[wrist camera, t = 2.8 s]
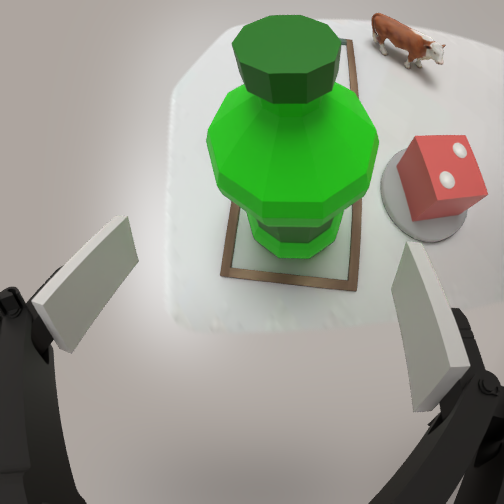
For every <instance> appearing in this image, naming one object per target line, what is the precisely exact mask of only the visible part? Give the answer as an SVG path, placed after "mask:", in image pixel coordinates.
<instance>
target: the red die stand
mask: <svg viewBox="0 0 504 504" xmlns="http://www.w3.org/2000/svg"><path fill="white" fill-rule="evenodd" d="M487 195H488V193H487V189H486V186H485V184H484V181H483V178H482V175H481V172H480V170H479V167H478V164H477V162H476V159H475V157H474V154H473V152H472V149H471V147H470V145H469V142H468V140H467V138H466V136H465V135H431V136H415V137H414V138H413V140H412V142H411V143H410V145H409V147H408V148H406V149H403V150H401V151H399V152H398V153H396V154H395V155H394V156H393V157H392V158H391V160H390V161H389V163H388V164H387V166H386V168H385V170H384V172H383V175H382V179H381V196H382V200H383V203H384V206H385V209H386V211H387V213H388V214H389V216H390V218H391V219H392V220H393V222H394V223H395V224H396V225H397V226H398V227H399V228H400V229H401V230H402V231H403V232H404V233H406V234H407V235H409V236H411V237H412V238H414V239H417V240H420V241H424V242H437V241H441V240H443V239H446V238H448V237H449V236H451V235H453V234H454V233H456V232H457V231H458V230H459V229H460V227H461V226H462V224H463V223H464V221H465V218H466V215H467V210H468V208H470V207H471V206H473V205H474V204H476V203H477V202H478V201H480V200H481V199H483V198H484V197H486V196H487Z"/></svg>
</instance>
